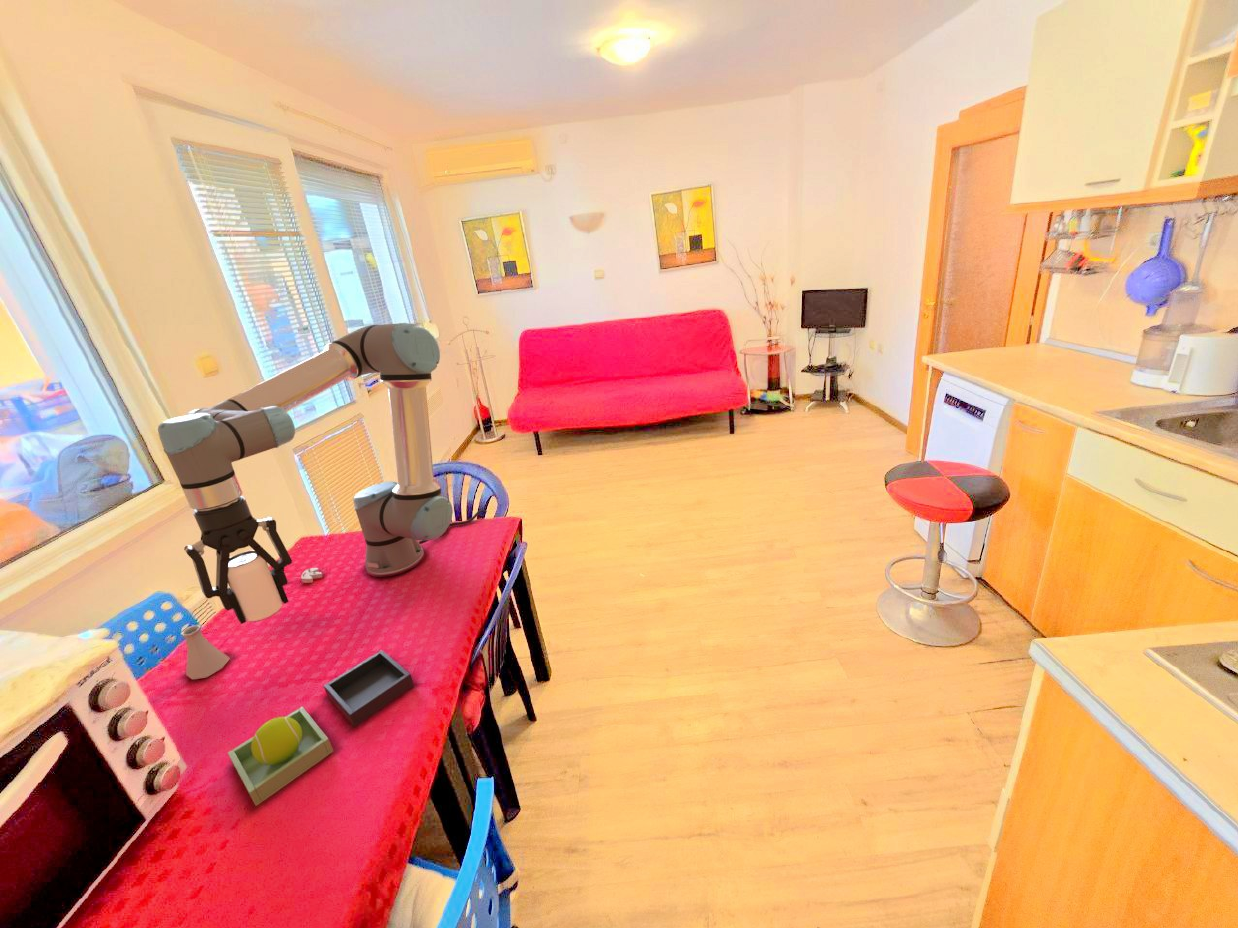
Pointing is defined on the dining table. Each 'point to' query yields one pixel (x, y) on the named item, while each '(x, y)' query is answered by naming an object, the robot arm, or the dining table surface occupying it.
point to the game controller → (310, 575)
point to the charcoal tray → (368, 687)
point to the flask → (202, 654)
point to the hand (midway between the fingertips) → (263, 609)
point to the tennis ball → (276, 740)
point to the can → (253, 586)
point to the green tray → (274, 777)
